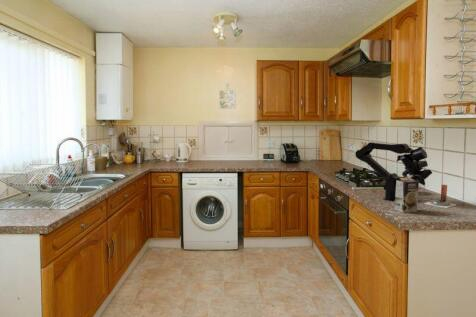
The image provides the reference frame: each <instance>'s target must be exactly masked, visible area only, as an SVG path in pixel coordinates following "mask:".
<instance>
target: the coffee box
mask: <svg viewBox="0 0 476 317" xmlns="http://www.w3.org/2000/svg"><path fill="white" fill-rule="evenodd" d="M419 184H420V183H419V181H414V180H396V195H395V201H394V211H396V210H397V212H400V213H402V214H404V213H415V212H416V213H417V212H418V201H419V200H418V199H419Z"/></svg>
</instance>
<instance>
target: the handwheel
mask: <svg viewBox="0 0 476 317" xmlns="http://www.w3.org/2000/svg"><path fill="white" fill-rule="evenodd" d="M440 188H441V189H440V199H431V200H429V202H430V203H433V204H437V205H451V201H449V200H447V195H448V194H447V193H448V185H447V184H441V187H440Z"/></svg>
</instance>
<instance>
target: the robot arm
mask: <svg viewBox="0 0 476 317" xmlns="http://www.w3.org/2000/svg"><path fill="white" fill-rule="evenodd" d="M374 150H379V151H381V150H382V151H390V152H393V153H395V154H398V155H397V159H396V162H399V161H401V162H402V164H403V166H404V171H403V172H401V174H402V178H407V176H409V177H410V178H411V179H413V180H415V181H419V184H420V185H421V186H426V182H425V180H426V179H427V178H428V177H429V176H431V175H432V174H433V172H432V170H431V169H426V168H427V167H428V166H429V165H428V160H425V159H427V158H428V154H427V151H425V149H424V148H423V147H422V146H419V147H417V148H415V149H413V148H411V147H410V146H409V144H407V143H395V144H392V143H381V142H374V141H373V142H372V141H370V142H368V143H367V144H366V145H364V146H363V147H361V148H360V149H357V150H356V152H355V154H354V155H355V158H356V159H357V160H360V161H361V162H364V163H366V164H367V165H368V166H369V167H370V168H372V170H374V171H375V172H376V173H377V174H379V175H380V177H382V178H383V180H384V182H385V184H384V185H383V186H382V187H383V190H385V194H384V195H385V196H384V197H383V198H382V199H383V200H386V201H391V202H395V195H396V180H401V179H400V178H401V176H398V175H397V173H395V172H394V173H390V172H389V171H388V170H387V169H386V168H384V167H383V166H382V165H381V164H380V163H379V162H377V160H375V159H374V158H373V157H372V155H371V153H372V152H373V151H374ZM425 167H426V168H425ZM423 168H425V169H423Z"/></svg>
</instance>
